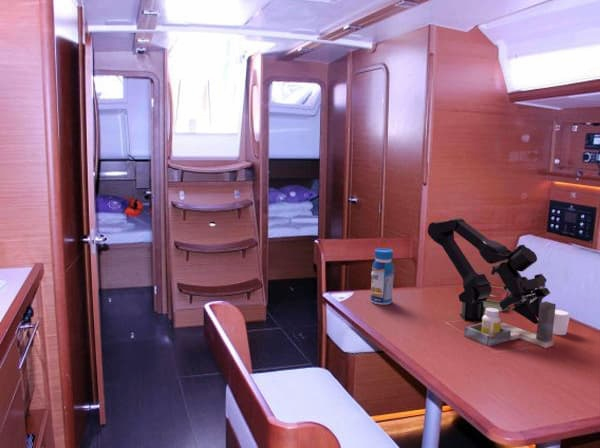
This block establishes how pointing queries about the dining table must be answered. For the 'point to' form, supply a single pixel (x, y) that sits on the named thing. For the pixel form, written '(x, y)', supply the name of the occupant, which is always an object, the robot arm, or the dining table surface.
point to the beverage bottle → (382, 277)
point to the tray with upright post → (519, 330)
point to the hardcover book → (495, 298)
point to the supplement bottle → (491, 321)
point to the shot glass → (560, 322)
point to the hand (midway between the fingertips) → (540, 322)
